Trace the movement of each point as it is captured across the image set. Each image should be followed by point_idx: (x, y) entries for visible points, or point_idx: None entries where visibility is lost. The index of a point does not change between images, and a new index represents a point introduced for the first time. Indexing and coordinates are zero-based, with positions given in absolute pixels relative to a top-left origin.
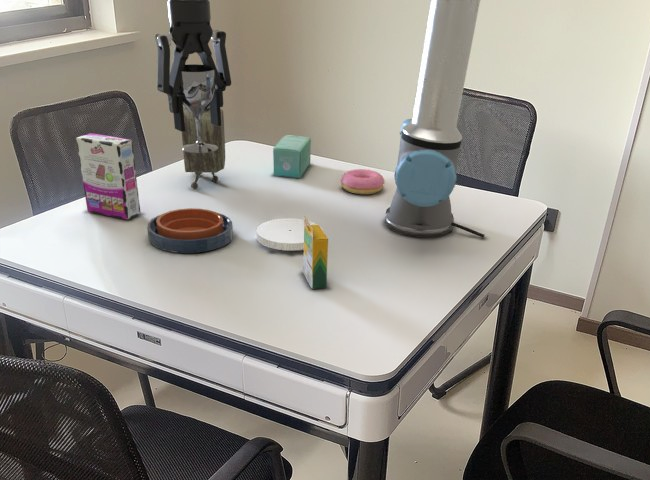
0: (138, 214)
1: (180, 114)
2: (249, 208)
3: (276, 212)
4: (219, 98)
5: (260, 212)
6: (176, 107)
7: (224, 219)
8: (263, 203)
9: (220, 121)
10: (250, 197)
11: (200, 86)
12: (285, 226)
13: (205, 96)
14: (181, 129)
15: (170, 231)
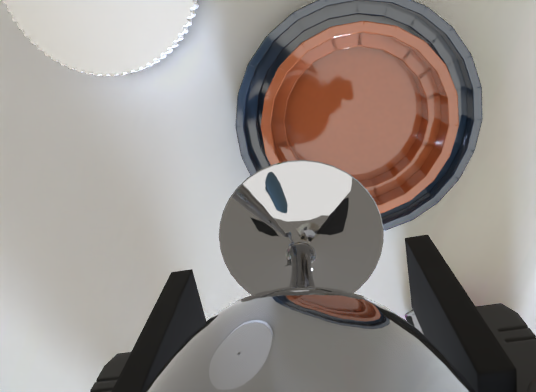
0: (412, 310)
1: (458, 284)
2: (136, 248)
3: (77, 196)
4: (121, 375)
5: (117, 212)
6: (492, 329)
7: (246, 136)
8: (90, 266)
9: (169, 284)
10: (110, 314)
11: (336, 350)
12: (97, 7)
13: (276, 303)
14: (431, 241)
15: (445, 64)
